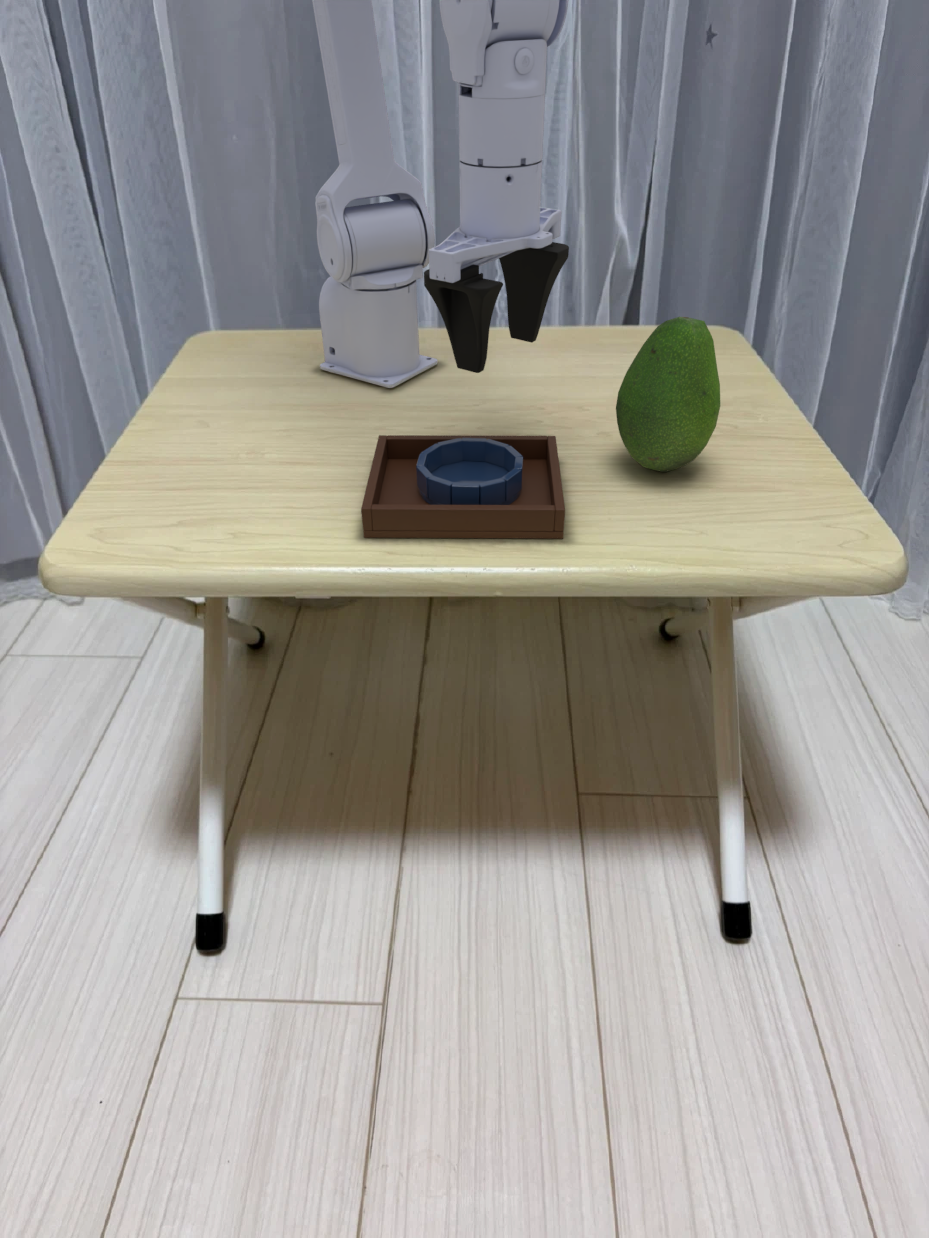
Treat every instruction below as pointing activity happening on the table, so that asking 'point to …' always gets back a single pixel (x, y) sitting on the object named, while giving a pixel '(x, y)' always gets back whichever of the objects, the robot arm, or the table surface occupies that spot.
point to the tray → (407, 515)
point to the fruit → (670, 396)
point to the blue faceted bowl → (470, 472)
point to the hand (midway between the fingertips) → (497, 353)
